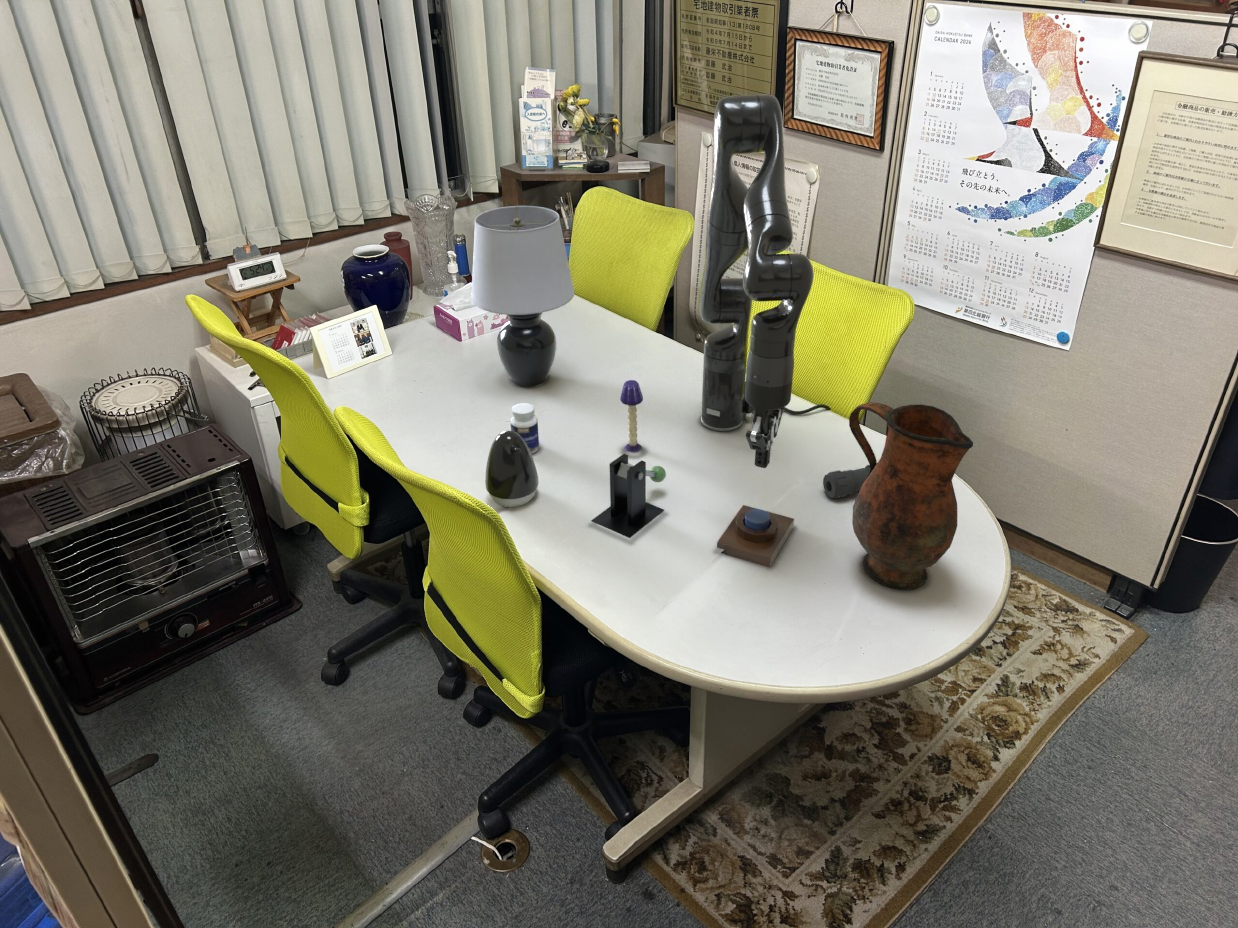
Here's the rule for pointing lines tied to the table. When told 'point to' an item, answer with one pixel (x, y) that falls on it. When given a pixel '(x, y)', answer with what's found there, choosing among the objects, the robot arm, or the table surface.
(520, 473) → the black egg-shaped dome
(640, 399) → the toy lamp
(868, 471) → the flashlight
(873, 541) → the pitcher
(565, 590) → the table surface
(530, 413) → the pill bottle
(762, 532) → the button block
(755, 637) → the table surface
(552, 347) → the lamp
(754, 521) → the light button
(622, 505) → the switch bracket
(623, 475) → the switch lever
